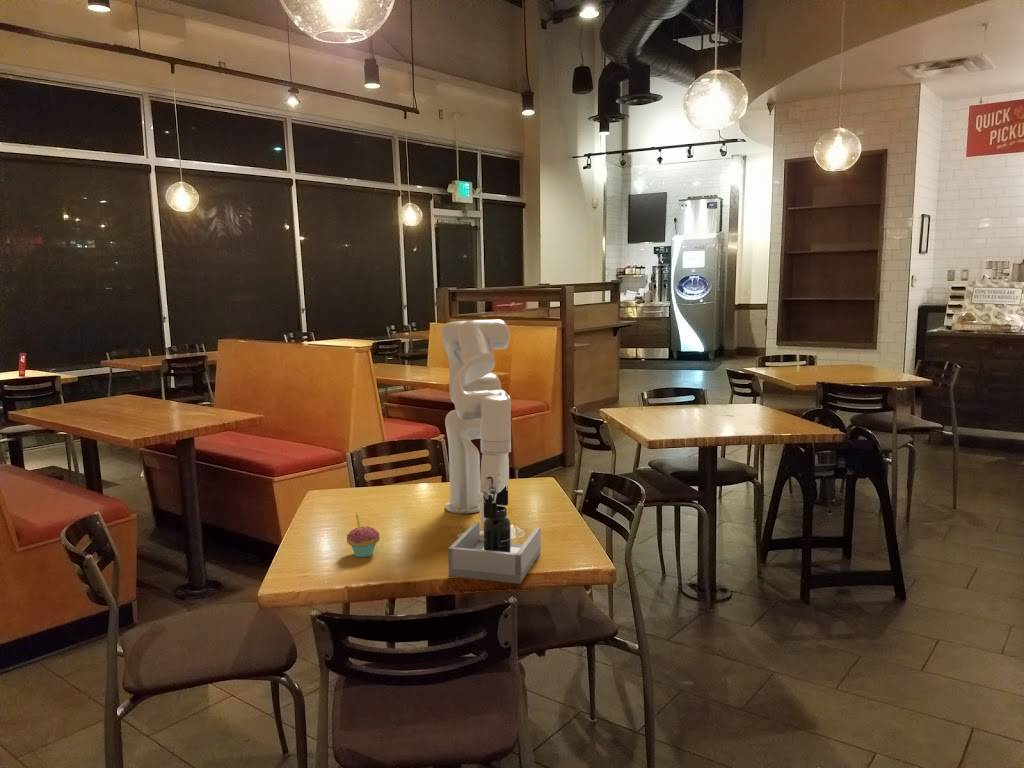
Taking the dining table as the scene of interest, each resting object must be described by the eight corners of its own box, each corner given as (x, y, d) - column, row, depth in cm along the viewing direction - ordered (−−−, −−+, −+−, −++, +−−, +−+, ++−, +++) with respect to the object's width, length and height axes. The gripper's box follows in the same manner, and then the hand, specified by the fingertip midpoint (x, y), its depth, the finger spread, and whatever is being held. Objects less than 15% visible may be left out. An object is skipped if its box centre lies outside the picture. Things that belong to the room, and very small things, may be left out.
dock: (475, 546, 194) (475, 521, 193) (540, 553, 189) (540, 527, 188) (448, 576, 175) (448, 548, 174) (520, 583, 170) (520, 555, 169)
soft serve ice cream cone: (492, 526, 210) (491, 472, 208) (512, 533, 204) (511, 478, 202) (470, 533, 204) (469, 478, 202) (490, 540, 198) (489, 484, 196)
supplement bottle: (508, 560, 179) (507, 513, 177) (481, 558, 180) (480, 512, 179) (513, 549, 186) (512, 504, 184) (487, 548, 187) (486, 503, 185)
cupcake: (364, 562, 184) (362, 517, 182) (340, 556, 189) (338, 511, 187) (387, 551, 191) (385, 507, 190) (363, 545, 196) (361, 503, 194)
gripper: (491, 436, 188) (492, 499, 191) (469, 453, 172) (470, 521, 175) (519, 438, 186) (519, 501, 189) (500, 455, 170) (500, 524, 172)
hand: (496, 511), depth 182 cm, fingers open, 9 cm apart
